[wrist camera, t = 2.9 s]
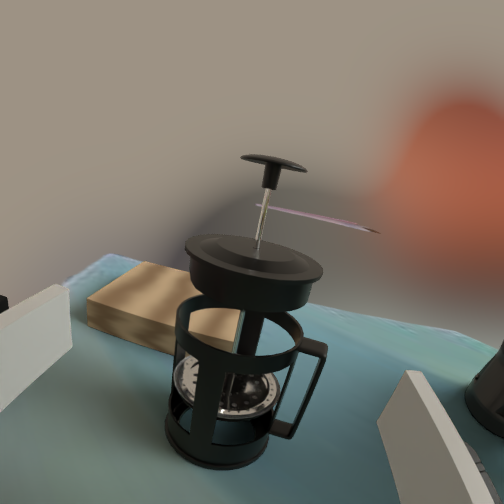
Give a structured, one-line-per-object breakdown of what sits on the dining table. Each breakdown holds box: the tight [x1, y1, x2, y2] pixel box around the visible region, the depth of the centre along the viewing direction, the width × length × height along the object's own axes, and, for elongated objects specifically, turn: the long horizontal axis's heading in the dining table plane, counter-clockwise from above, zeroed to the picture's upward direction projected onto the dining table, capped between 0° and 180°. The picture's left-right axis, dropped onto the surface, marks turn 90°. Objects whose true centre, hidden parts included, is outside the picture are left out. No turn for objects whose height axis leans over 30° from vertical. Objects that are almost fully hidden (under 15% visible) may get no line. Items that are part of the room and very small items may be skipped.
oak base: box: [87, 261, 240, 358], centre depth 42 cm, size 20×18×4 cm
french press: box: [165, 154, 328, 470], centre depth 21 cm, size 12×9×23 cm
